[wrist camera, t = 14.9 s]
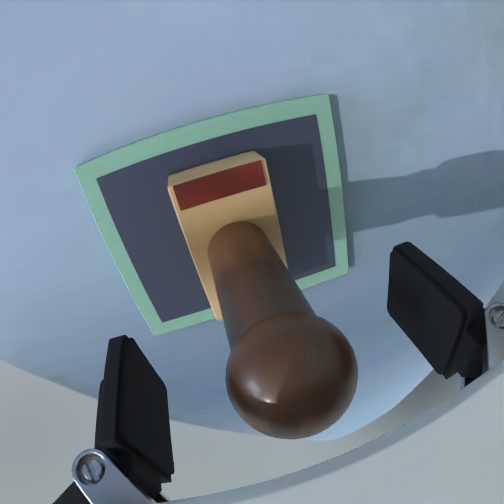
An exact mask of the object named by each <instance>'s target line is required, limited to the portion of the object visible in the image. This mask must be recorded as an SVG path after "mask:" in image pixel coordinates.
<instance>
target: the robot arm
mask: <svg viewBox="0 0 504 504" xmlns="http://www.w3.org/2000/svg"><path fill="white" fill-rule="evenodd" d="M387 310H388V313H389V314H390V316H391V317H392V318H393V319H394V321H395V322H396V323H397V324H398V325H399V327H400V328H401V329H402V330H403V331H404V332H405V334H406V335H407V336H408V337H409V339H410V340H411V341H412V342H413V343H414V345H415V346H416V347H417V348H418V349H419V351H420V352H421V353H422V354H423V356H424V357H425V358H426V359H427V361H428V362H429V363H430V364H431V366H432V367H433V368H434V369H435V371H436V372H437V373H438V374H443V376H444V377H445V378H446V379H448V378H449V377H451V376H452V375H454V374H455V373H457V372H458V373H459V374H460V375H461V385H460V391H458V392H457V393H455V394H454V395H452V396H451V397H449V398H448V399H446V400H445V401H443V402H441V403H440V404H438V405H437V406H435V407H434V408H432V409H430V410H429V411H427V412H425V413H424V414H422V415H420V416H418V417H417V418H415V419H413V420H411V421H410V422H408V423H406V424H404V425H402V426H401V427H399V428H397V429H395V430H393V431H391V432H390V433H387V434H385V435H383V436H381V437H379V438H377V439H375V440H373V441H371V442H369V443H367V444H365V445H363V446H360V447H359V448H356V449H354V450H351V451H349V452H347V453H344V454H342V455H340V456H338V457H335V458H332V459H330V460H327V461H325V462H322V463H320V464H317V465H314V466H311V467H309V468H306V469H303V470H300V471H297V472H294V473H291V474H288V475H285V476H282V477H279V478H275V479H272V480H268V481H265V482H261V483H257V484H253V485H250V486H246V487H241V488H237V489H233V490H228V491H224V492H219V493H214V494H209V495H204V496H199V497H193V498H187V499H180V500H174V501H171V500H170V499H169V498H167V497H166V496H165V495H164V494H163V493H162V492H161V491H162V489H161V483H167V482H171V474H173V473H174V462H173V455H172V445H171V436H170V424H169V412H168V399H167V389H166V386H165V384H164V382H163V381H162V380H161V378H160V377H159V376H158V374H157V373H156V371H155V370H154V368H153V367H152V366H151V364H150V363H149V361H148V360H147V358H146V357H145V355H144V354H143V352H142V351H141V349H140V348H139V346H138V345H137V343H136V342H135V340H134V339H133V338H128V337H127V336H126V335H122V336H119V337H115V338H111V339H110V340H109V344H108V350H107V357H106V364H105V371H104V379H103V380H102V381H101V384H100V390H99V399H98V409H97V419H96V432H95V449H87V450H84V451H83V452H81V453H80V454H79V455H78V456H77V457H76V458H75V460H74V462H73V465H72V476H73V479H74V482H73V483H72V484H71V485H70V486H69V487H68V488H67V489H66V490H65V491H64V493H62V495H61V496H60V497H59V498H58V499H57V500H56V501H55V502H54V503H53V504H504V303H502V302H495V303H492V304H490V305H489V306H488V307H487V308H486V309H484V308H483V303H482V302H481V301H480V300H479V299H478V298H477V297H476V296H475V295H473V294H472V293H471V292H470V291H469V290H468V289H467V288H465V287H464V286H463V285H462V284H461V283H460V282H459V281H457V280H456V279H455V278H454V277H453V276H451V275H450V274H449V273H448V272H447V271H445V270H444V269H443V268H442V267H441V266H439V265H438V264H437V263H436V262H434V261H433V260H432V259H431V258H429V257H428V256H427V255H426V254H424V253H423V252H422V251H421V250H419V249H418V248H417V247H416V246H414V245H413V244H412V243H410V242H404V243H402V244H399V245H396V246H395V247H394V248H393V251H392V252H391V253H390V268H389V286H388V300H387Z"/></svg>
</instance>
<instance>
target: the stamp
mask: <svg viewBox="0 0 504 504" xmlns="http://www.w3.org/2000/svg"><path fill="white" fill-rule="evenodd" d="M168 177H169V178H168V192H169V195H170V197H171V200H172V203H173V206H174V209H175V212H176V215H177V218H178V220H179V223H180V226H181V229H182V232H183V234H184V237H185V240H186V243H187V245H188V248H189V251H190V253H191V256H192V259H193V261H194V264H195V267H196V269H197V272H198V275H199V277H200V280H201V282H202V285H203V288H204V290H205V293H206V295H207V298H208V300H209V303H210V305H211V308H212V310H213V313H214V315H215V318H216V320H217V321H220V320H223V321H224V325H225V329H226V333H227V337H228V341H229V345H230V349H231V353H230V355H229V358H228V362H227V367H226V386H227V392H228V395H229V398H230V401H231V403H232V405H233V407H234V409H235V410H236V412H237V413H238V414H239V416H240V417H241V418H242V419H243V420H244V421H245V422H246V423H247V424H248V425H249V426H251V427H252V428H254V429H255V430H257V431H259V432H261V433H263V434H265V435H268V436H271V437H275V438H280V439H300V438H306V437H309V436H313V435H315V434H318V433H320V432H322V431H324V430H326V429H327V428H329V427H330V426H331V425H333V424H334V423H335V422H336V421H337V420H339V418H340V417H341V416H342V415H343V414H344V413H345V411H346V410H347V408H348V407H349V405H350V403H351V401H352V399H353V397H354V394H355V391H356V387H357V381H358V366H357V360H356V357H355V354H354V351H353V348H352V347H351V345H350V343H349V341H348V340H347V338H346V337H345V336H344V334H343V333H342V332H341V331H340V330H339V329H338V328H337V327H336V326H334V325H333V324H332V323H330V322H329V321H327V320H325V319H323V318H321V317H319V316H316V314H315V313H314V311H313V309H312V308H311V306H310V304H309V303H308V301H307V300H306V298H305V296H304V295H303V293H302V292H301V290H300V288H299V287H298V285H297V284H296V282H295V280H294V279H293V277H292V276H291V274H290V272H289V271H288V266H287V261H286V256H285V251H284V246H283V241H282V235H281V230H280V225H279V220H278V215H277V211H276V206H275V201H274V196H273V191H272V186H271V182H270V177H269V172H268V168H267V163H266V159H265V158H264V157H262V156H261V155H259V154H258V153H256V152H255V151H254V150H253V149H252V150H248V151H244V152H240V153H237V154H233V155H230V156H226V157H223V158H219V159H216V160H212V161H209V162H206V163H202V164H199V165H196V166H193V167H189V168H186V169H183V170H180V171H177V172H174V173H171V174H168Z"/></svg>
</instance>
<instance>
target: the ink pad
mask: <svg viewBox="0 0 504 504" xmlns="http://www.w3.org/2000/svg"><path fill="white" fill-rule="evenodd" d="M252 149H253V150H254V151H255V152H256V153H258V154H259V155H261V156H262V157H264V158H265V159H266V163H267V168H268V172H269V177H270V182H271V186H272V191H273V196H274V201H275V206H276V211H277V215H278V220H279V225H280V230H281V235H282V241H283V246H284V251H285V256H286V261H287V266H288V271H289V272H290V274H291V276H292V277H293V279H294V280H295V282H296V284H297V285H298V287H299V288H300V290H303V289H305V288H308V287H311V286H314V285H317V284H319V283H322V282H325V281H328V280H331V279H333V278H336V277H339V276H341V275H344V274H347V273H349V271H348V252H347V237H346V224H345V212H344V202H343V192H342V183H341V174H340V166H339V158H338V150H337V143H336V136H335V130H334V123H333V117H332V111H331V105H330V99H329V95H328V94H320V95H313V96H307V97H301V98H296V99H290V100H285V101H280V102H275V103H270V104H265V105H261V106H256V107H252V108H247V109H243V110H239V111H235V112H231V113H227V114H223V115H219V116H216V117H212V118H208V119H205V120H201V121H198V122H194V123H191V124H188V125H184V126H181V127H178V128H175V129H172V130H169V131H165V132H162V133H159V134H157V135H154V136H151V137H148V138H145V139H142V140H139V141H137V142H134V143H131V144H129V145H126V146H123V147H121V148H118V149H116V150H113V151H111V152H108V153H106V154H103V155H101V156H98V157H96V158H94V159H91V160H89V161H87V162H84V163H82V164H80V165H77V166H76V167H75V168H74V169H75V172H76V175H77V177H78V180H79V183H80V185H81V188H82V190H83V193H84V195H85V198H86V200H87V203H88V205H89V207H90V210H91V212H92V214H93V217H94V219H95V221H96V224H97V226H98V228H99V230H100V233H101V235H102V237H103V239H104V241H105V243H106V246H107V248H108V250H109V252H110V254H111V256H112V258H113V260H114V262H115V264H116V266H117V268H118V270H119V272H120V274H121V276H122V278H123V280H124V282H125V284H126V286H127V288H128V290H129V292H130V293H131V295H132V297H133V299H134V301H135V303H136V304H137V306H138V308H139V310H140V312H141V313H142V315H143V317H144V319H145V321H146V322H147V324H148V326H149V327H150V329H151V331H152V333H153V334H154V336H157V335H161V334H164V333H168V332H171V331H175V330H178V329H182V328H185V327H188V326H192V325H195V324H198V323H202V322H205V321H208V320H211V319H215V315H214V313H213V310H212V308H211V305H210V303H209V300H208V298H207V295H206V293H205V290H204V288H203V285H202V282H201V280H200V277H199V275H198V272H197V269H196V267H195V264H194V261H193V259H192V256H191V253H190V251H189V248H188V245H187V243H186V240H185V237H184V234H183V232H182V229H181V226H180V223H179V220H178V218H177V215H176V212H175V209H174V206H173V203H172V200H171V197H170V195H169V192H168V178H169V177H168V174H171V173H174V172H177V171H180V170H183V169H186V168H189V167H193V166H196V165H199V164H202V163H206V162H209V161H212V160H216V159H219V158H223V157H226V156H230V155H233V154H237V153H240V152H244V151H248V150H252Z"/></svg>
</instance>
